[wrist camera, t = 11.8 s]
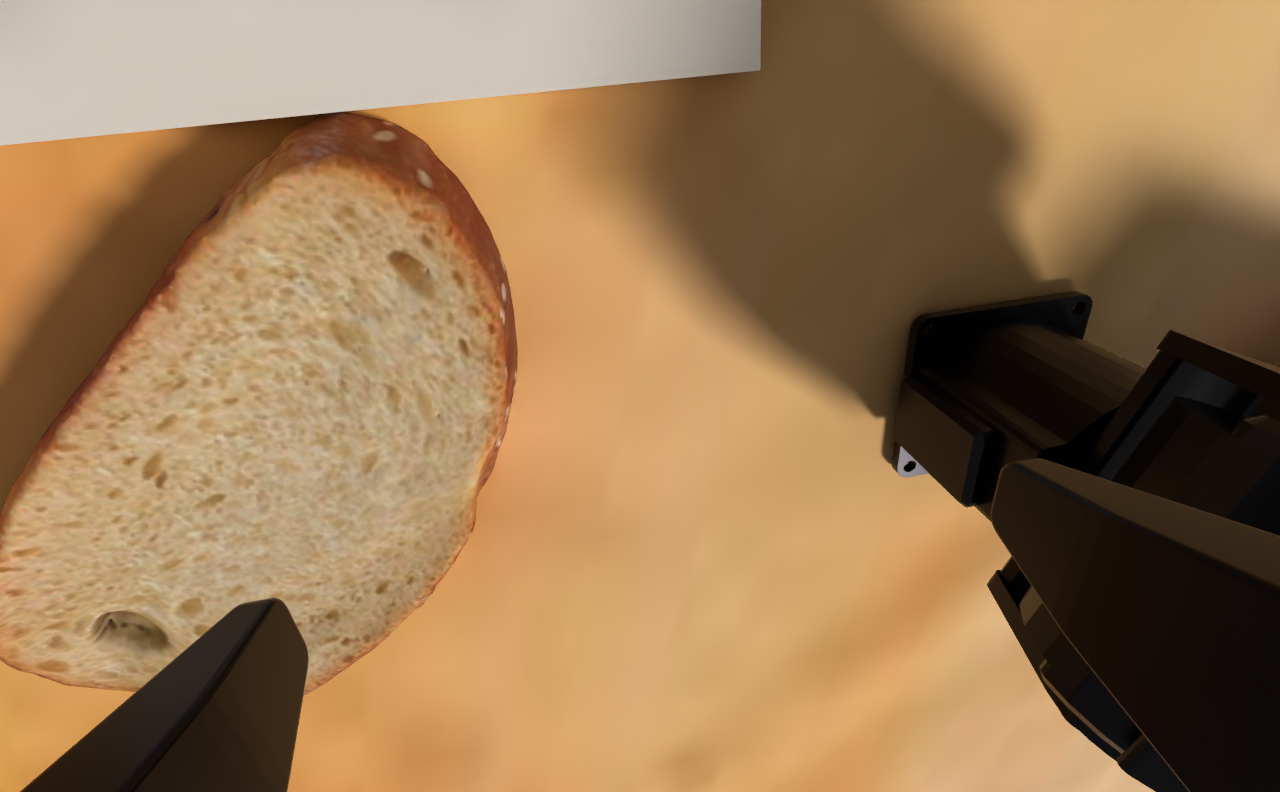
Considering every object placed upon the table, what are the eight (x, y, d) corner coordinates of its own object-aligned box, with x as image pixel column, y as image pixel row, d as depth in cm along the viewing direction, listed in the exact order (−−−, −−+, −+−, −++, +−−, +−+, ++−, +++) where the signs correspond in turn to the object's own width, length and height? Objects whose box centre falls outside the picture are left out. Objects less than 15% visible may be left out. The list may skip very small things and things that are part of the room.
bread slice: (457, 88, 16) (441, 91, 12) (593, 585, 24) (604, 664, 21) (-303, 227, 14) (-549, 271, 11) (129, 700, 23) (63, 804, 20)
